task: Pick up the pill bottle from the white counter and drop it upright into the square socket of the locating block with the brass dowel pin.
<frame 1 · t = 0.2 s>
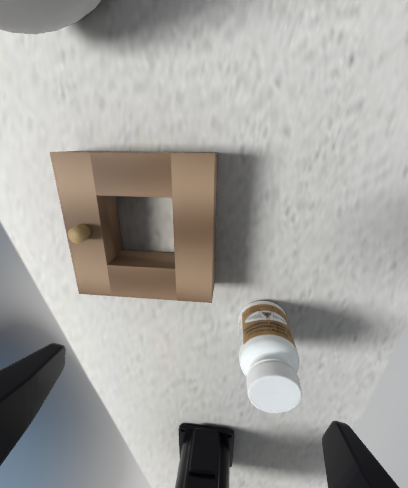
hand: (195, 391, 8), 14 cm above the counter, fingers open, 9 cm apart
socket block: (150, 221, 21), on the counter
pill bottle: (261, 317, 24), on the counter
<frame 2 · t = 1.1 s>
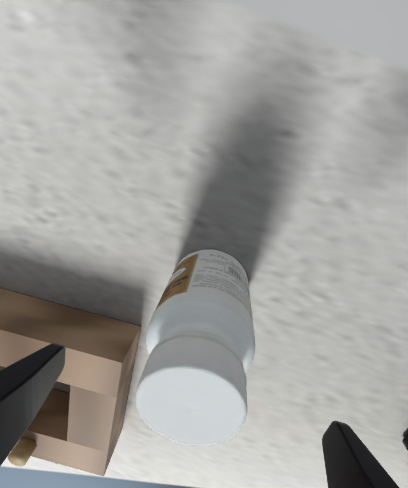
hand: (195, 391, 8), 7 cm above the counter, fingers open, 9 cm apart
socket block: (57, 364, 18), on the counter
pill bottle: (210, 280, 15), on the counter
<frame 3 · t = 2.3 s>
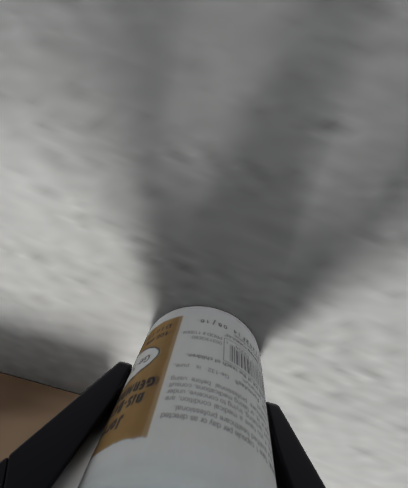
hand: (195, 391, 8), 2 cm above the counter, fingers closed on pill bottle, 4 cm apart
pill bottle: (202, 345, 10), on the counter, touching gripper
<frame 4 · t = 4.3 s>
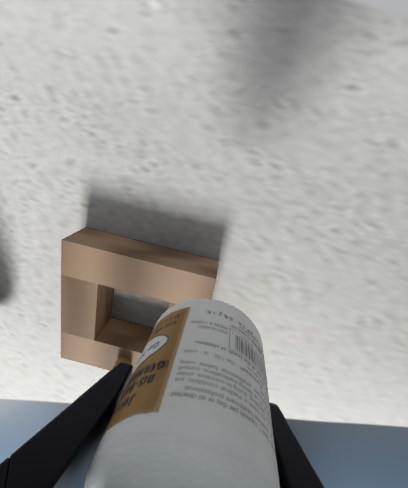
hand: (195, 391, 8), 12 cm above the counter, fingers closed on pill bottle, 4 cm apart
socket block: (142, 300, 22), on the counter
pill bottle: (207, 337, 10), point 10 cm above the counter, touching gripper
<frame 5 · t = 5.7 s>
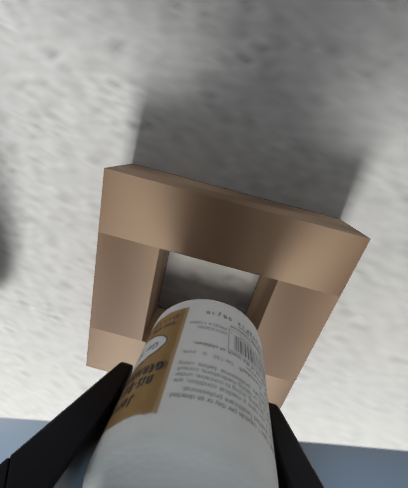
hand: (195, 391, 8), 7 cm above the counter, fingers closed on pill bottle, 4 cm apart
socket block: (209, 282, 15), on the counter
pill bottle: (206, 338, 10), point 5 cm above the counter, touching gripper
when the fingers open (4 cm above the counter, at t = 6.6 s): pill bottle drops 2 cm, resting in socket block.
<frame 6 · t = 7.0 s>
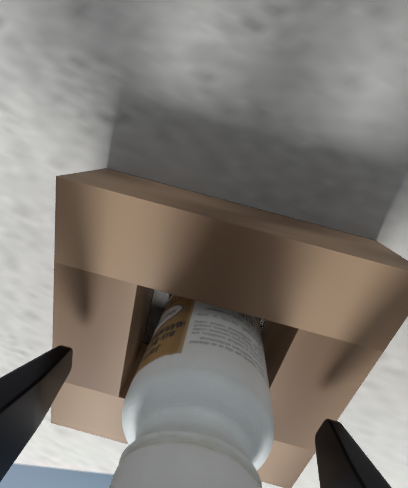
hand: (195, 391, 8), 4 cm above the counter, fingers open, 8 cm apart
socket block: (206, 315, 12), on the counter
pill bottle: (211, 313, 12), resting in socket block
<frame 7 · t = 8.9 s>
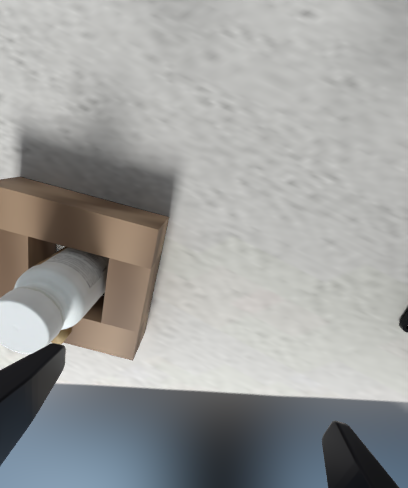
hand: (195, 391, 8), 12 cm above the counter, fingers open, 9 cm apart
socket block: (88, 263, 20), on the counter
pill bottle: (93, 262, 20), resting in socket block
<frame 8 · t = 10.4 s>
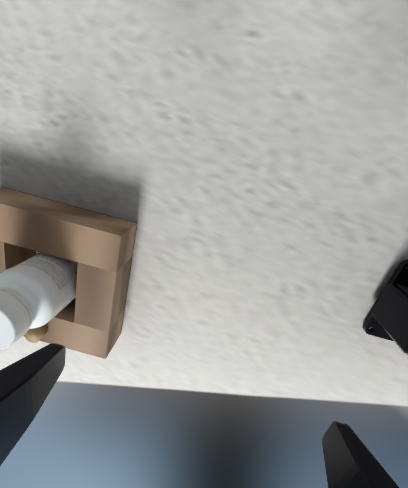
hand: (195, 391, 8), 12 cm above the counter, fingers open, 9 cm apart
socket block: (65, 266, 21), on the counter
pill bottle: (70, 266, 22), resting in socket block
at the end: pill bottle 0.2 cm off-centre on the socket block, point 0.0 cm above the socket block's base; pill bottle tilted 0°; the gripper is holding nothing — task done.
